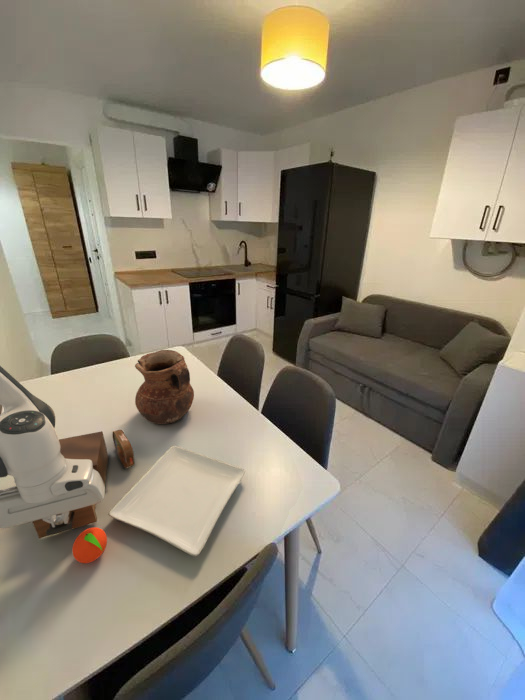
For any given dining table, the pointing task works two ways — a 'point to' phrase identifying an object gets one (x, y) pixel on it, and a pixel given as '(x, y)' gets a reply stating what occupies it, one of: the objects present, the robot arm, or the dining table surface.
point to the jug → (164, 387)
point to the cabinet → (87, 450)
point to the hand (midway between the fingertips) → (61, 523)
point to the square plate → (180, 498)
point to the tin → (123, 448)
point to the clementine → (89, 545)
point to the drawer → (75, 520)
